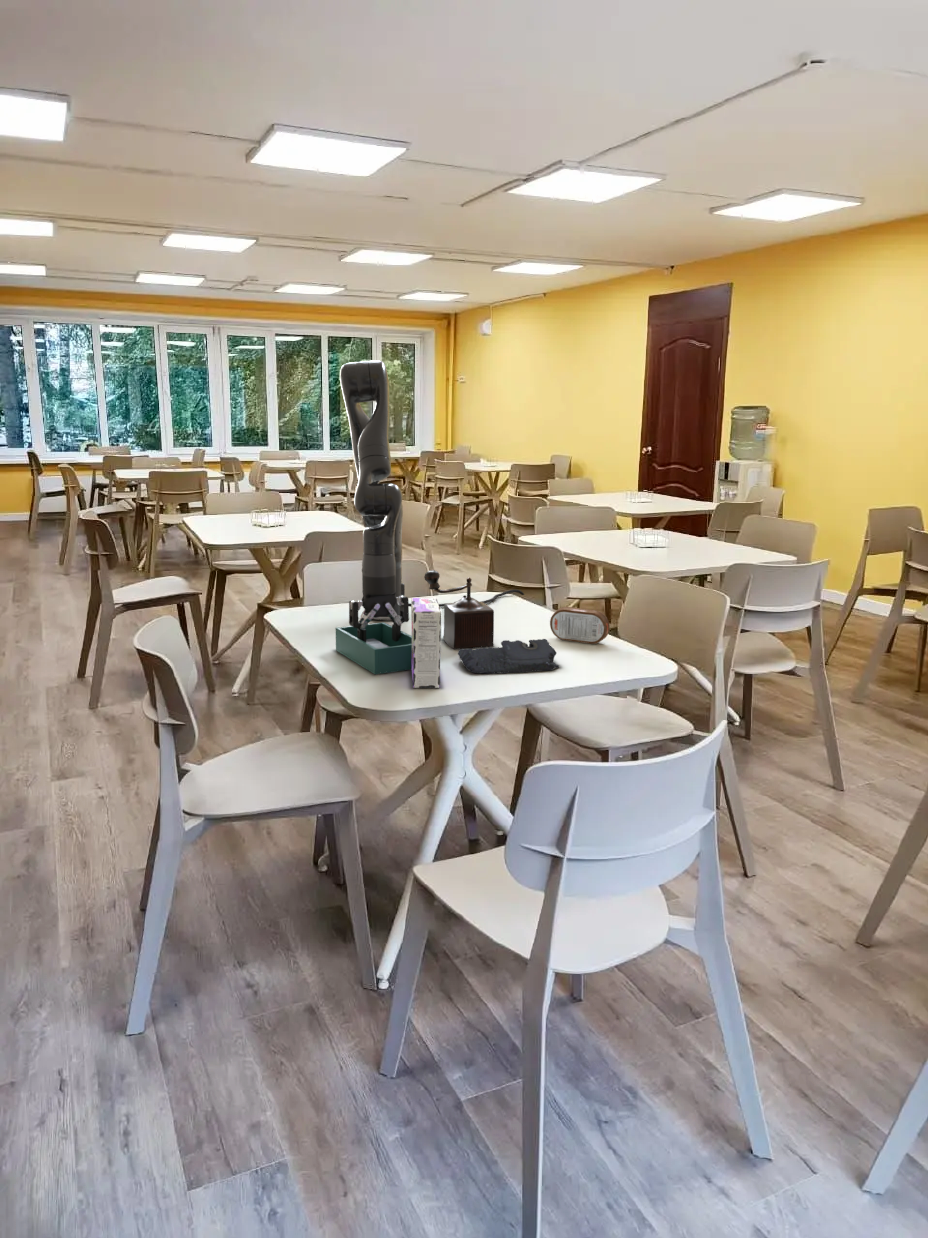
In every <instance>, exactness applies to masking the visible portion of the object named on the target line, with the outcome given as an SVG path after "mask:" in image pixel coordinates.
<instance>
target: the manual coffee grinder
mask: <svg viewBox="0 0 928 1238" xmlns="http://www.w3.org/2000/svg"><path fill="white" fill-rule="evenodd" d="M440 578H441V577H440V573H439V571H437V570H436V569H430V570H427V571H426V572H425V573H424V577H423V579H424V580H425V581H426V582H427V584H428V585H429V586H428V589H429V590H431V591H432V590H433V591H434V592H435V593H437V594H449V593H454V592H458V591H459V592H460V591H463V590H465V589H466V594H465V595H463V596H462V598H461V599H459V600H457V601H454V602H445V603H443V604H444V607H443V636H442V638H443V640H444V642H445V643H446V645H448V647H450V648H451V649H453V650H460V649H480V648H489V647H493V648H494V645H495V644H494V641H495V640H494V637H495V635H494V633H495V630H494V629H495V611H494V609H493V608H492V607H490V606H489V605H487V603H483V602H481V601H479V600H477V599H476V598H474V597H472V596H471V590H472V589H471V587H472V586H473V584H472V578H471V577H467V578H466V583H465V584H464V585H462V586H457V587H452V588H447V589H446V588H445V589H440V587H441V585H440V584H439V579H440Z"/></svg>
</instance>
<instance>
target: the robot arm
mask: <svg viewBox="0 0 928 1238" xmlns="http://www.w3.org/2000/svg"><path fill="white" fill-rule="evenodd" d="M339 380H340V387H341V393H342V397H343V401H344V406H345V410H346V414H347V419H348V422H349V423H348V424H349V430H350V438H351V447H352V454H353V461H354V465H355V470H356V475H357V480H358V481H357V484H356V485H357V486H356V489H355V493H354V499H353V504H354V508H355V510H356V512H357V513H358V514H359V515H361V520H362V524H363V527H364V529H363V532H362V561H361V577H362V578H361V579H362V581H361V582H362V583H361V584H362V587H361V589H362V592H361V593H362V598H361V600H353V599H350V600H349V602H348V624H349V626H352V627H354V628H357V635H358V638H359V639H360V640H362V641H364V642H366V629H365V628H366V626H367V625H368V624H370V622H372V620H374V621H383V622H384V621H385V622H386V621H387V622H388V621H391V622H392V624H391V626H392V640H393V641H399V638H400V637H401V631H402V624H404V623H408V622H409V620H410V611H409V610H410V607H411V602H410V601H409V597H407V596H406V595H405V592H406V591H405V589H406V588H405V587H406V586H405V583H403V575H402V574H403V573H402V571H403V564H402V563H403V561H402V560H403V559H402V558H403V556H402V555H403V553H402V552H403V551H402V549H403V548H402V547H403V546H402V542H403V537H402V535H403V519H404V517H403V516H404V506H403V493H402V489H401V488H400V486H399V485H397V484H395V483H381V481H383V480H385V479H387V478H389V476H390V475H391V472H392V466H391V465H392V464H391V463H392V458H391V449H390V442H389V424H390V382H389V381H390V380H389V375H388V370H387V366H386V364H385V362H384V361H382V360H364V361H354V362H347V363H344V364H343V365H341V367H340V370H339ZM371 402H375V406H374V409H373V412H372V414H371V417H369V416H368V414H367V413H366V412H365V410H364V409H363V407H362V405H361V403H371ZM512 593H518V594H520V595H521V596H524V595H525V593H524V592H523V591H522V590H520V589H510V590H507V591H503V592H501V593H497V594H495V595H494V596H493V597H492V598H489V599H486V600H482V601H480V602H483V603H485V604H488V603H491V602H494V601H495V600H496V599H497V598H500V597H503V596H506V595H509V594H512ZM438 604H439V608H444V603H438ZM361 607H362V608H363V609H364V610H363V611H362V613H361V614H360V617H359V611H360V610H361Z"/></svg>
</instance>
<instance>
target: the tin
mask: <svg viewBox="0 0 928 1238" xmlns="http://www.w3.org/2000/svg"><path fill="white" fill-rule="evenodd" d="M549 626H550V630H551V633H552V634H553V636H555V637H556V638H557V639H559V640H562V641H567V642H575V643H582V644H587V645H588V644H590V645H595V644H599V643H600V642H602V641H603V640H605V639H606V638H607V637H608V635H609V633H610V627H611V626H610V621H609V620H608V617H607V616H606V615H605V614H604V613H603V612H601V611H599V610H597V609H588V608H580V607H572V606H563V607H562V606H561V607H560V608H557V610H555V612H554V613H553V614H552V615H551V617H550V620H549Z"/></svg>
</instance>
